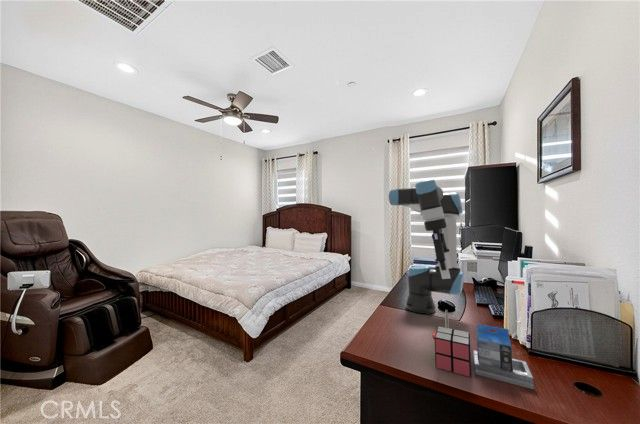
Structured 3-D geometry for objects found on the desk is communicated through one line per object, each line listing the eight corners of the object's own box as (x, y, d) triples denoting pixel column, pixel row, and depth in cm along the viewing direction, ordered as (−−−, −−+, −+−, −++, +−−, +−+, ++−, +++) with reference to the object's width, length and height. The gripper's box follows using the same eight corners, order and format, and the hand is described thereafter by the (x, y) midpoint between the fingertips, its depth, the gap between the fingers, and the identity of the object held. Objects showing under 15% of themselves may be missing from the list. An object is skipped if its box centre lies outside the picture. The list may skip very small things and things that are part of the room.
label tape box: (478, 366, 77) (477, 328, 78) (478, 360, 81) (476, 323, 81) (513, 375, 73) (511, 334, 73) (510, 367, 76) (509, 328, 77)
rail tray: (473, 358, 84) (473, 349, 84) (525, 370, 77) (525, 360, 77) (475, 374, 75) (475, 364, 75) (533, 389, 68) (533, 378, 68)
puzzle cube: (471, 378, 73) (469, 345, 74) (435, 368, 79) (434, 337, 79) (470, 361, 82) (469, 332, 82) (438, 353, 87) (437, 325, 88)
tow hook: (430, 333, 103) (437, 343, 94) (428, 303, 104) (435, 310, 95) (450, 335, 102) (460, 345, 93) (449, 303, 103) (458, 310, 94)
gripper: (427, 218, 106) (439, 265, 104) (419, 224, 84) (433, 284, 83) (446, 214, 102) (458, 263, 101) (442, 220, 80) (457, 282, 79)
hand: (447, 273), depth 92 cm, fingers open, 13 cm apart
